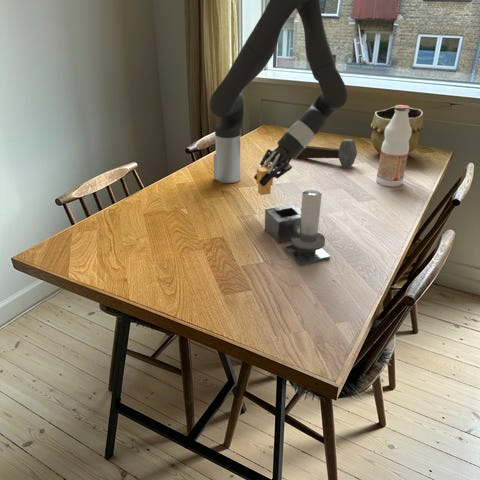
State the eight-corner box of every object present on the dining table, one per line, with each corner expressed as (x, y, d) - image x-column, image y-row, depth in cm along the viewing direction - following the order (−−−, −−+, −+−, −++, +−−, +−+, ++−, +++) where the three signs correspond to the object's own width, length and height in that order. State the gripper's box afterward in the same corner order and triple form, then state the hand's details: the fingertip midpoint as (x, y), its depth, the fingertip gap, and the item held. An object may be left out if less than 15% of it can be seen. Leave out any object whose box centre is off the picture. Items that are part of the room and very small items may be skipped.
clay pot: (388, 168, 178) (397, 118, 168) (356, 152, 194) (362, 106, 185) (427, 161, 185) (438, 113, 175) (393, 146, 202) (401, 102, 192)
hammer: (285, 165, 191) (352, 169, 176) (283, 139, 186) (352, 141, 171) (290, 162, 195) (356, 165, 179) (288, 136, 190) (356, 138, 174)
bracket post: (264, 230, 132) (266, 173, 123) (292, 224, 135) (296, 169, 126) (299, 266, 115) (304, 204, 106) (330, 258, 118) (338, 197, 109)
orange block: (256, 191, 139) (257, 168, 135) (267, 190, 141) (268, 166, 137) (260, 195, 137) (261, 171, 133) (272, 193, 138) (273, 170, 134)
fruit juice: (380, 187, 160) (393, 109, 146) (372, 177, 169) (384, 103, 155) (405, 187, 161) (421, 109, 147) (397, 177, 169) (411, 103, 155)
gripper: (278, 125, 137) (242, 167, 139) (300, 138, 126) (260, 183, 128) (292, 140, 142) (256, 180, 144) (314, 154, 131) (275, 197, 133)
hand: (258, 182), depth 136 cm, fingers closed on orange block, 3 cm apart
